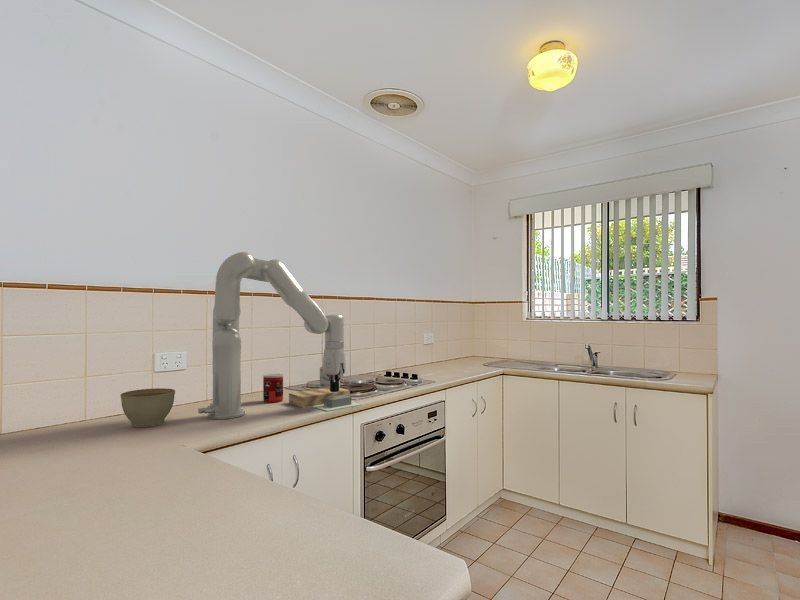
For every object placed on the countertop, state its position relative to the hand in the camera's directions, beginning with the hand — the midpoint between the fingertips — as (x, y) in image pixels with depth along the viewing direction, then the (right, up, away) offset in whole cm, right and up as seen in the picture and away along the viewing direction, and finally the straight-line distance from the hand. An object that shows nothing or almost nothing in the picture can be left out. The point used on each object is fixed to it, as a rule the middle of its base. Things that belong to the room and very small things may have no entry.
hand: (334, 391), depth 177 cm
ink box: (-6, -6, +28) cm, 29 cm away
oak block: (-7, -6, +8) cm, 12 cm away
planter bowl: (-59, -6, -28) cm, 65 cm away
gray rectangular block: (+1, -4, -1) cm, 4 cm away
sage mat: (+1, -6, -1) cm, 6 cm away
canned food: (-27, -6, +9) cm, 29 cm away
